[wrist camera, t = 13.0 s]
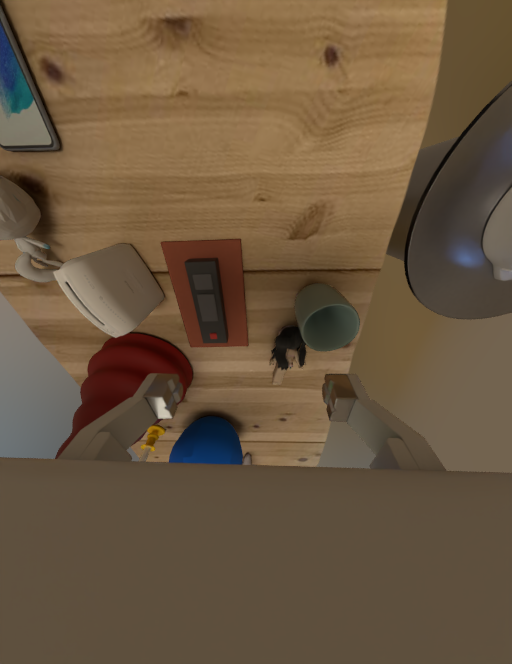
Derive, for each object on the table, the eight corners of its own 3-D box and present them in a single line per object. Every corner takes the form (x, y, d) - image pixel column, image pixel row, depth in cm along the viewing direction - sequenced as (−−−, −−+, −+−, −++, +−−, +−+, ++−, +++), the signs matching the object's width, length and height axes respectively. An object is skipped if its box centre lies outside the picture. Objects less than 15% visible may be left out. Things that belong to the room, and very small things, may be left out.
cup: (284, 288, 33) (293, 317, 25) (329, 268, 31) (355, 293, 23) (298, 323, 37) (310, 358, 28) (339, 308, 35) (364, 341, 27)
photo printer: (169, 298, 34) (131, 339, 24) (149, 305, 35) (104, 348, 25) (131, 238, 29) (60, 258, 19) (108, 248, 30) (28, 272, 19)
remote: (188, 258, 30) (183, 262, 28) (217, 257, 30) (214, 261, 28) (205, 336, 38) (202, 344, 36) (228, 336, 38) (227, 344, 36)
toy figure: (299, 375, 45) (310, 322, 36) (300, 398, 40) (314, 343, 31) (269, 371, 46) (272, 318, 37) (266, 394, 41) (270, 339, 32)
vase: (178, 434, 60) (121, 596, 35) (188, 400, 50) (119, 590, 26) (234, 445, 63) (218, 600, 39) (253, 415, 54) (248, 596, 29)
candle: (148, 423, 57) (116, 488, 44) (166, 427, 58) (139, 491, 45) (146, 431, 59) (115, 495, 46) (163, 435, 60) (138, 498, 48)
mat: (240, 238, 29) (240, 239, 28) (248, 344, 40) (248, 346, 39) (161, 241, 29) (160, 242, 29) (191, 345, 40) (190, 347, 40)
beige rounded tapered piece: (103, 258, 34) (10, 148, 21) (82, 294, 30) (-48, 186, 17) (49, 257, 34) (-77, 147, 21) (21, 293, 30) (-155, 184, 17)
